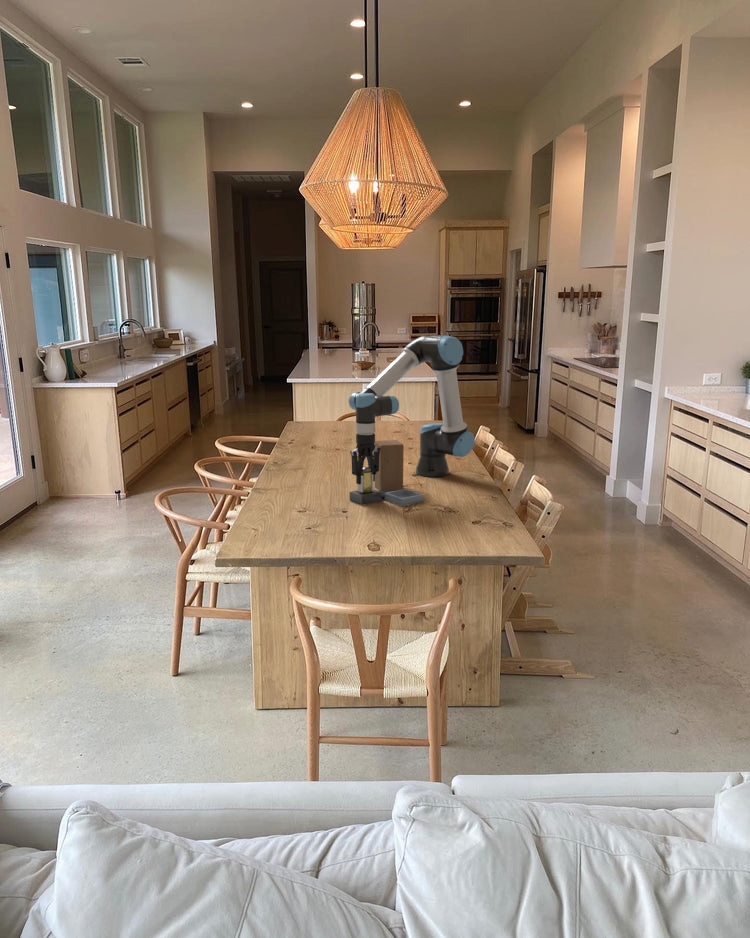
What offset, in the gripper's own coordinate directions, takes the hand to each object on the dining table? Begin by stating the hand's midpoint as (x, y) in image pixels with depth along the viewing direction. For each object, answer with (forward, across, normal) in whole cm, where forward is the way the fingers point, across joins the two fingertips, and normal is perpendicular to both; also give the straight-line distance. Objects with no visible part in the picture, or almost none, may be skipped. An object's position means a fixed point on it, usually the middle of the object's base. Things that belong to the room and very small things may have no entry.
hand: (365, 490), depth 293 cm
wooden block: (+4, -19, -9) cm, 21 cm away
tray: (+4, -12, +10) cm, 16 cm away
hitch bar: (+4, -4, 0) cm, 6 cm away
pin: (+4, 0, 0) cm, 4 cm away
